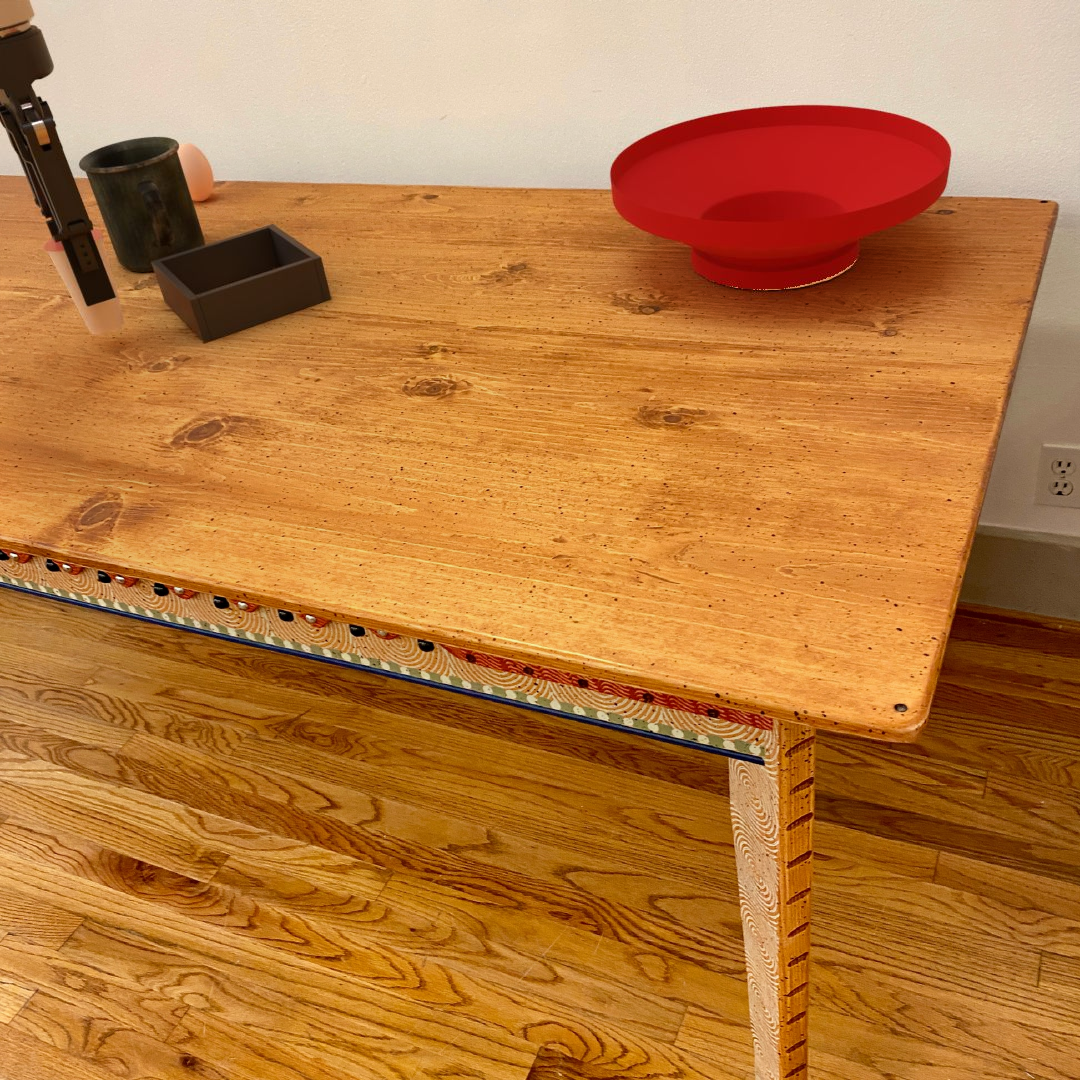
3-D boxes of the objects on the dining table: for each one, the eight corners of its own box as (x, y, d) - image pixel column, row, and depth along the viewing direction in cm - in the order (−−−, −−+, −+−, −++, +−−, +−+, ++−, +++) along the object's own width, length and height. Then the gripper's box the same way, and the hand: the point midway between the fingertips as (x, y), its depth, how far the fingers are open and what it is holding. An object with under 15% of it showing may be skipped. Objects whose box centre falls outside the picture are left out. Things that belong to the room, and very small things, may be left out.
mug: (197, 230, 132) (166, 129, 125) (228, 265, 122) (196, 157, 115) (108, 255, 129) (70, 153, 122) (132, 293, 118) (92, 184, 111)
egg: (177, 207, 141) (158, 149, 136) (195, 194, 144) (178, 137, 140) (208, 206, 140) (190, 148, 135) (226, 193, 143) (209, 136, 139)
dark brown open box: (204, 343, 105) (189, 300, 103) (164, 301, 115) (150, 261, 112) (331, 298, 110) (321, 256, 108) (283, 263, 120) (272, 223, 118)
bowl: (680, 195, 122) (677, 103, 116) (965, 208, 110) (977, 105, 104) (567, 311, 101) (555, 206, 95) (903, 344, 89) (913, 225, 83)
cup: (93, 344, 103) (44, 222, 96) (70, 330, 107) (21, 211, 100) (144, 323, 106) (100, 202, 99) (120, 310, 110) (75, 193, 102)
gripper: (60, 34, 85) (157, 307, 99) (17, 10, 99) (108, 254, 112) (-39, 57, 83) (75, 334, 96) (-69, 29, 96) (35, 277, 110)
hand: (93, 291), depth 104 cm, fingers closed on cup, 5 cm apart
